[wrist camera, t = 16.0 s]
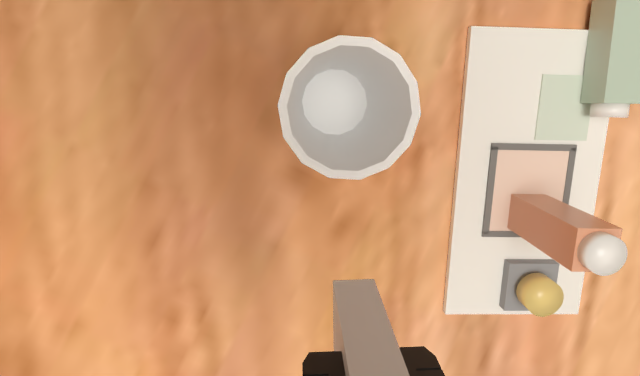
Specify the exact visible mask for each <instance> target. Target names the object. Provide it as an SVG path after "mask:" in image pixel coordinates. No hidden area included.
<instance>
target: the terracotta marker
mask: <svg viewBox="0 0 640 376" xmlns="http://www.w3.org/2000/svg"><path fill="white" fill-rule="evenodd" d="M507 228H508V229H510V230H511V231H513V232H514V233H516V234H517V235H519V236H520V237H522V238H523V239H525V240H526V241H527V242H529V243H530V244H532V245H533V246H535V247H536V248H538V249H539V250H541V251H542V252H543V253H545V254H546V255H548V256H549V257H551V258H552V259H554V260H555V261H557V262H558V263H559V264H561V265H562V266H564V267H565V268H567V269H568V270H570V271H571V272H593V273H595V274H597V275H601V276H607V275H611V274H613V273H615V272H617V271H618V270H620V269H621V268H622V266H623V265H624V263H625V262H626V259H627V247H626V245H625V243H624V242H623V241H622V240H621V234H622V228H620V227H617V226H615V225H613V224H611V223H608V222H606V221H604V220H602V219H599V218H597V217H595V216H593V215H591V214H588V213H586V212H584V211H582V210H579V209H577V208H575V207H573V206H570V205H568V204H566V203H564V202H561V201H559V200H557V199H555V198H553V197H550V196H548V195H546V194H511V200H510V208H509V217H508V225H507Z"/></svg>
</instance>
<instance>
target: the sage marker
mask: <svg viewBox="0 0 640 376" xmlns="http://www.w3.org/2000/svg"><path fill="white" fill-rule="evenodd" d="M580 103H591V106H590V115H589V117H625V118H628V116H629V108H630V104H640V0H593V1H592V4H591V13H590V22H589V31H588V40H587V49H586V57H585V66H584V75H583V84H582V93H581V102H580Z"/></svg>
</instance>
